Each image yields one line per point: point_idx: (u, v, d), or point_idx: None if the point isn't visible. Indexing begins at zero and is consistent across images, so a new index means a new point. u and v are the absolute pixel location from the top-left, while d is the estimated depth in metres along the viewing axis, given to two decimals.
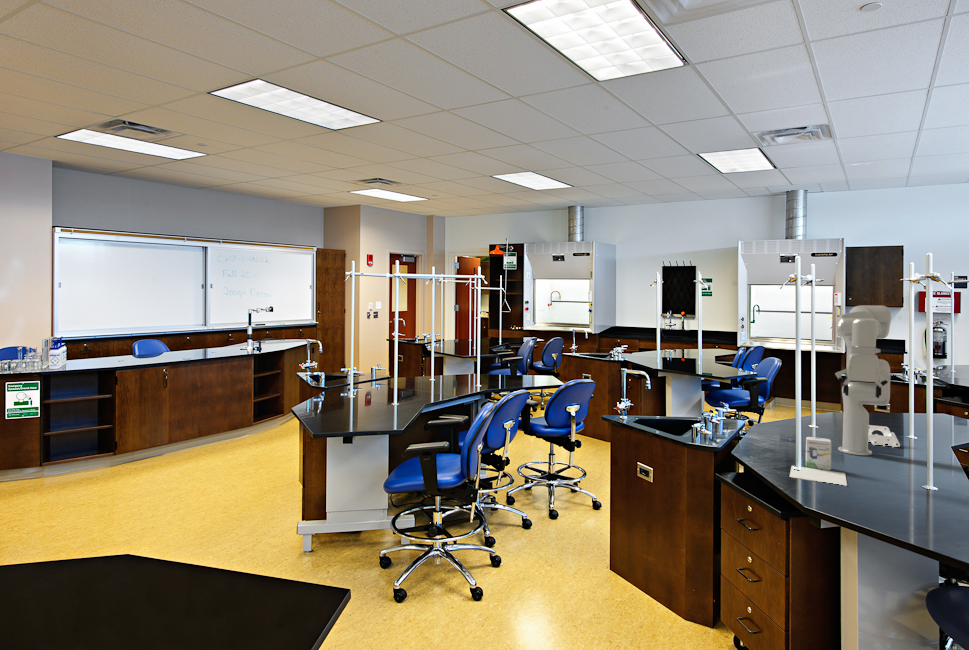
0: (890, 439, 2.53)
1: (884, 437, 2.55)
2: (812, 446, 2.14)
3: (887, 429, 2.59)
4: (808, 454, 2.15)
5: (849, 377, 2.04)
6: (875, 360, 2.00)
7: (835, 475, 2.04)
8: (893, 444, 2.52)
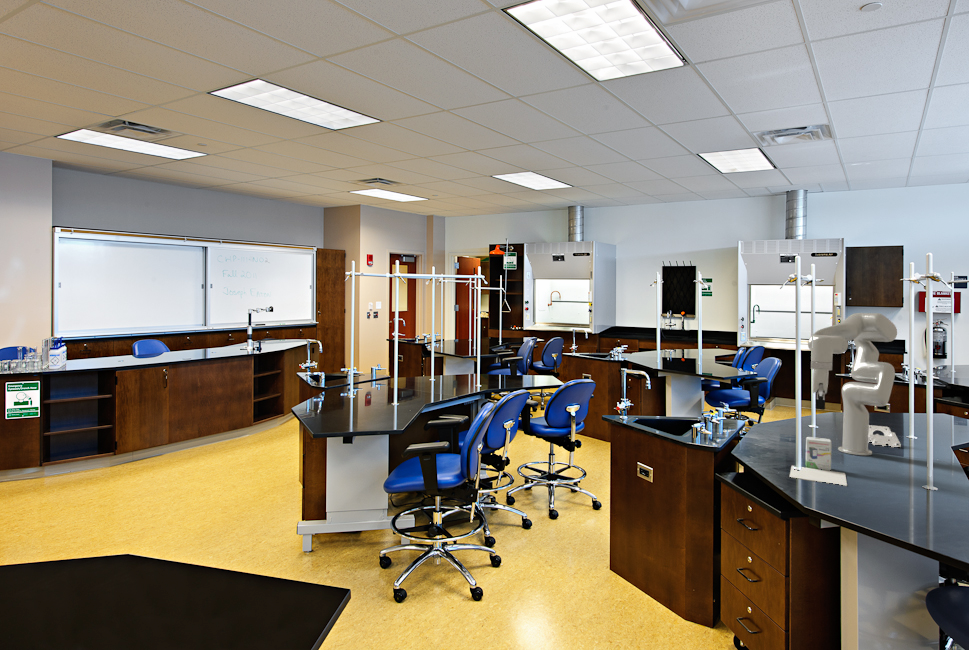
0: (891, 439, 2.53)
1: (885, 437, 2.54)
2: (812, 446, 2.14)
3: (888, 429, 2.59)
4: (808, 454, 2.15)
5: (826, 391, 2.18)
6: None
7: (835, 475, 2.04)
8: (894, 444, 2.52)
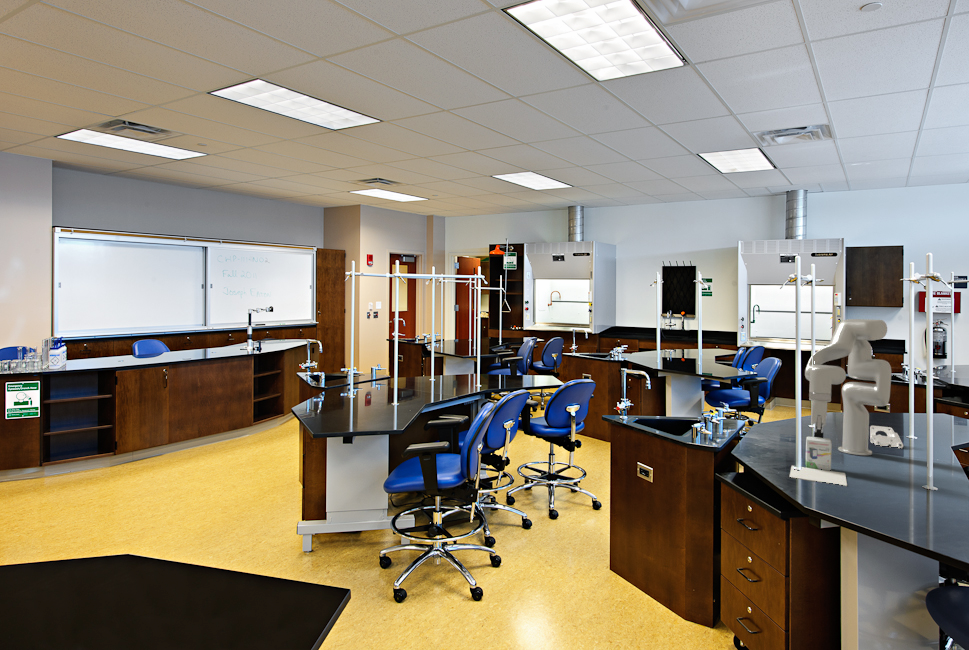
0: (893, 440, 2.52)
1: (887, 438, 2.54)
2: (812, 446, 2.13)
3: (891, 430, 2.58)
4: (808, 454, 2.14)
5: (824, 423, 2.13)
6: None
7: (835, 475, 2.04)
8: (896, 445, 2.51)
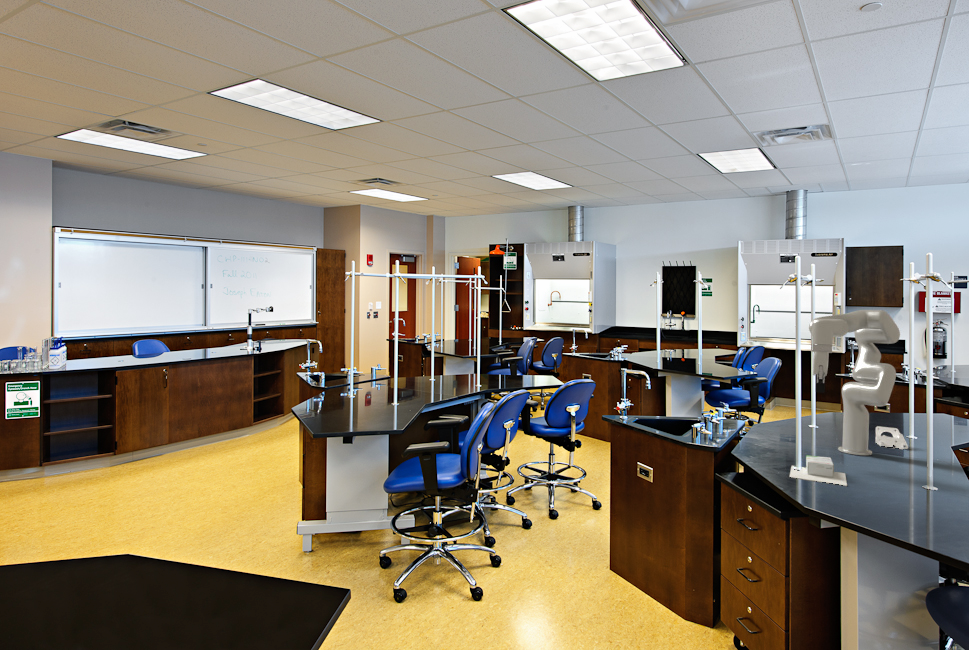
0: (898, 441, 2.50)
1: (892, 439, 2.52)
2: None
3: (897, 431, 2.56)
4: None
5: (826, 373, 2.20)
6: None
7: (835, 475, 2.04)
8: (901, 446, 2.49)
